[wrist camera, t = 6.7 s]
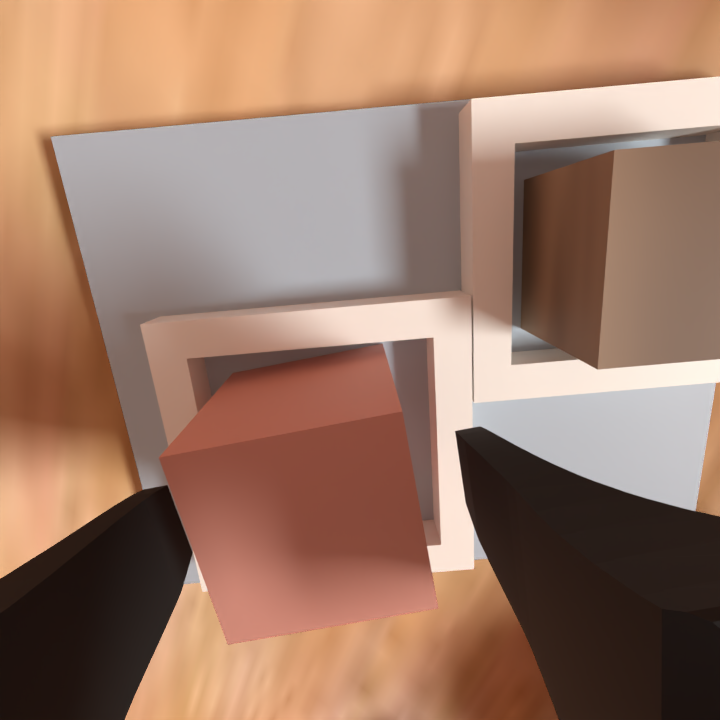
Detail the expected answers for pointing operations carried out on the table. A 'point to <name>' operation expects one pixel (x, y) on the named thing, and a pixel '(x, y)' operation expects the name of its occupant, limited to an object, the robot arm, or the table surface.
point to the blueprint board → (380, 279)
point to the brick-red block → (303, 497)
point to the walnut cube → (626, 256)
